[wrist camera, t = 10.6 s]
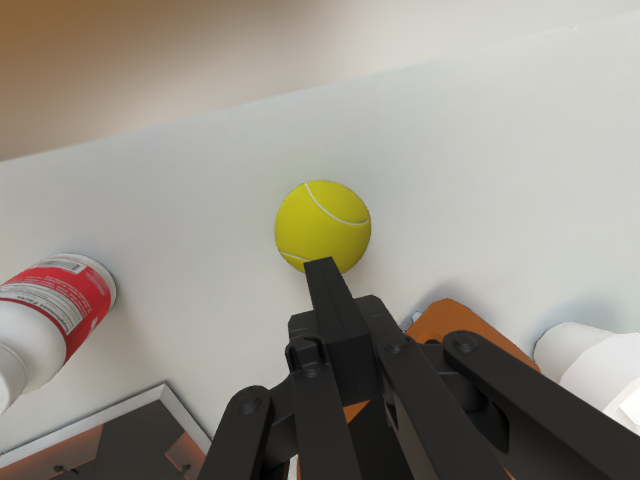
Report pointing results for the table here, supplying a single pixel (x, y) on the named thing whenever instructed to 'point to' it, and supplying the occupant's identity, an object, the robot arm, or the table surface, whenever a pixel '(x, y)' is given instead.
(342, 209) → the tennis ball
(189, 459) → the picture frame
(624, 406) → the potted plant
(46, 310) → the pill bottle
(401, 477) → the alarm clock
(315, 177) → the table surface
